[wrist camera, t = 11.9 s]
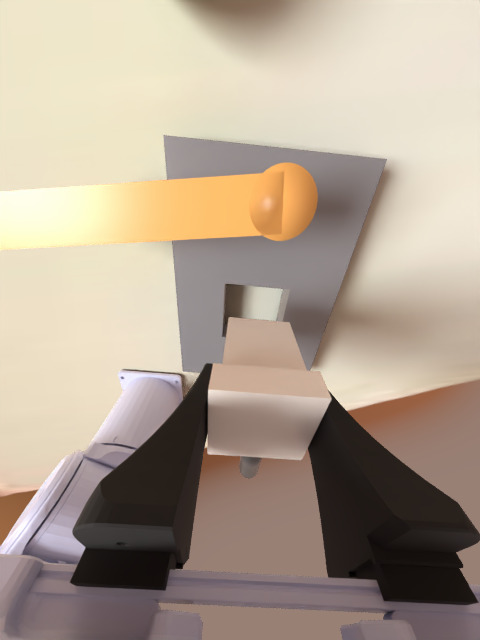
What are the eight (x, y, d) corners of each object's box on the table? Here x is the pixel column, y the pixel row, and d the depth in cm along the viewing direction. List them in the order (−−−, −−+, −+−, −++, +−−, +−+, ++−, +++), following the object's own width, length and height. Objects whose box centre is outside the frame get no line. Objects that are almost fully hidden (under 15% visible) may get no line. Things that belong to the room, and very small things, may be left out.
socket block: (300, 365, 25) (317, 415, 19) (188, 356, 25) (170, 404, 19) (366, 165, 15) (444, 143, 9) (175, 144, 14) (128, 107, 9)
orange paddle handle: (16, 250, 12) (-13, 256, 10) (-21, 188, 10) (-60, 187, 9) (305, 234, 11) (312, 239, 10) (312, 165, 9) (322, 159, 8)
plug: (274, 398, 18) (288, 487, 12) (219, 394, 18) (207, 482, 12) (296, 317, 14) (331, 398, 8) (223, 311, 14) (208, 389, 8)
